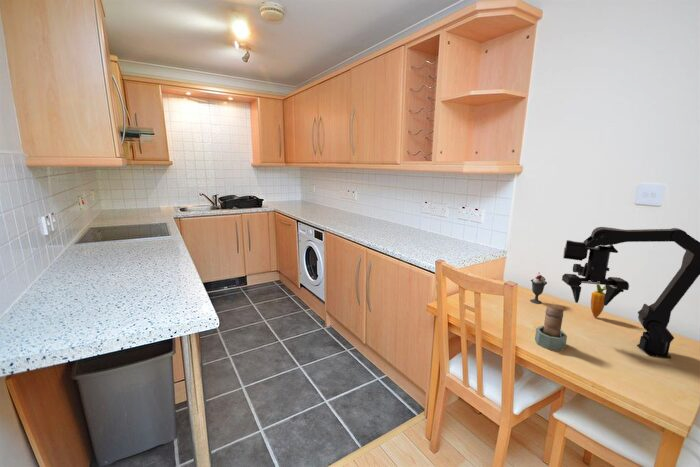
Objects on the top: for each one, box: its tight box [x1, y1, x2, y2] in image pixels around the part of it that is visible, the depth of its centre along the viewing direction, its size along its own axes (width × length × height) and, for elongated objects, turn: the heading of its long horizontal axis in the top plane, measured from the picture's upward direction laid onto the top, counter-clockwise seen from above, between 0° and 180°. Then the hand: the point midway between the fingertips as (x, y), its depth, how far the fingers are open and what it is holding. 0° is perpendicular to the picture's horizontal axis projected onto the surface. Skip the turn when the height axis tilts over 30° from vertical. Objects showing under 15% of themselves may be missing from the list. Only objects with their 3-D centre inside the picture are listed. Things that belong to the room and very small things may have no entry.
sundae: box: [529, 272, 548, 305], centre depth 147 cm, size 7×7×15 cm
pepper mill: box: [543, 304, 565, 338], centre depth 111 cm, size 5×5×13 cm
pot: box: [534, 325, 568, 352], centre depth 112 cm, size 9×9×4 cm
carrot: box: [590, 284, 606, 319], centre depth 131 cm, size 5×5×15 cm
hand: (590, 303), depth 115 cm, fingers open, 9 cm apart
